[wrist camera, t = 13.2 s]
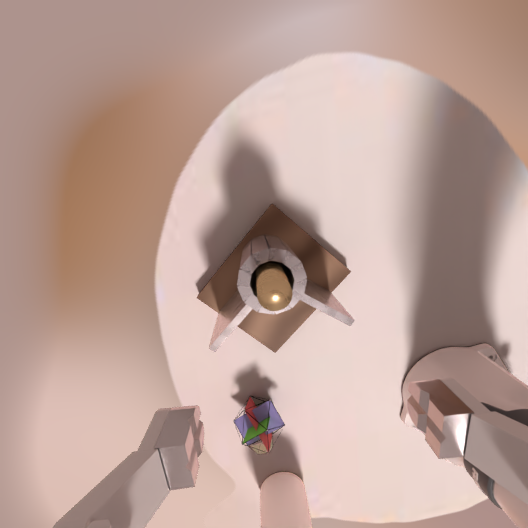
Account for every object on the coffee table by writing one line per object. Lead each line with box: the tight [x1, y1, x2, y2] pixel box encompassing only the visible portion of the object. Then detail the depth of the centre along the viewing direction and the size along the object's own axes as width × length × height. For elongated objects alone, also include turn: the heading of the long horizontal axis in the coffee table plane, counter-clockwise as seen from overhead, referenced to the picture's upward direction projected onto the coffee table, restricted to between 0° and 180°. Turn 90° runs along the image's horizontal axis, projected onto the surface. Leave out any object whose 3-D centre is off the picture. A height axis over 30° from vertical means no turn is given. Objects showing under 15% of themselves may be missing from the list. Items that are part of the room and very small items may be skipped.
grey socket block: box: [209, 234, 354, 352], centre depth 29 cm, size 13×13×9 cm
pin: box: [256, 261, 293, 311], centre depth 26 cm, size 3×3×12 cm
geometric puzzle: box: [233, 396, 285, 454], centre depth 37 cm, size 7×7×8 cm
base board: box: [197, 204, 351, 353], centre depth 34 cm, size 14×16×2 cm
